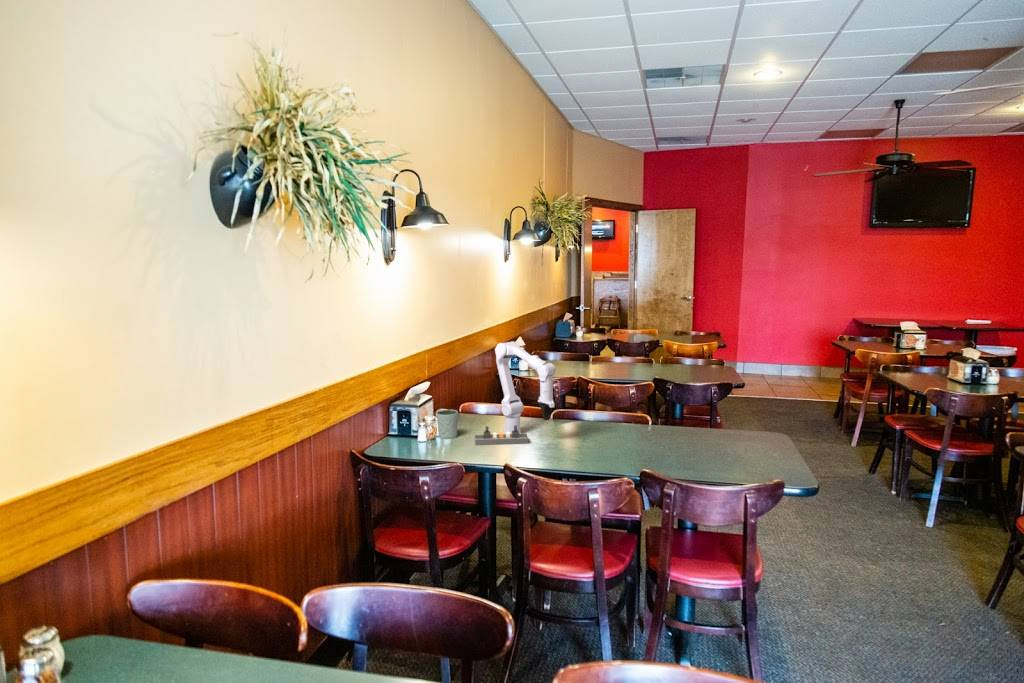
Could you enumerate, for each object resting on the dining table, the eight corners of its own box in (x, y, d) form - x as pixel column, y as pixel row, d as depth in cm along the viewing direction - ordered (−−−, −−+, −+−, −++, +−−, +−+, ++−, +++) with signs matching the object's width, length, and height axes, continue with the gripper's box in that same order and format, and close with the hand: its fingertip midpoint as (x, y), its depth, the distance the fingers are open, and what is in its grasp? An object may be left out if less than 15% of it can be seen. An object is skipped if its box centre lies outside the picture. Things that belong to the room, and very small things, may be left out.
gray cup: (460, 434, 295) (459, 409, 293) (456, 440, 285) (455, 414, 283) (439, 433, 296) (438, 409, 294) (434, 439, 286) (434, 414, 284)
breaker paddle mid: (499, 436, 282) (499, 432, 282) (502, 436, 282) (502, 432, 282) (499, 437, 280) (499, 433, 279) (503, 437, 280) (503, 433, 280)
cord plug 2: (511, 435, 283) (511, 425, 282) (518, 435, 283) (518, 424, 283) (512, 437, 280) (512, 426, 279) (519, 437, 280) (519, 426, 280)
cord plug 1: (483, 436, 282) (483, 425, 281) (490, 436, 282) (490, 425, 281) (483, 438, 279) (483, 427, 278) (490, 438, 279) (490, 427, 278)
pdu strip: (474, 440, 284) (474, 434, 283) (526, 439, 286) (526, 433, 286) (475, 445, 277) (475, 439, 276) (528, 443, 279) (528, 437, 279)
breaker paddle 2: (505, 436, 282) (505, 432, 282) (509, 435, 283) (509, 432, 282) (506, 437, 280) (506, 433, 280) (509, 437, 280) (509, 433, 280)
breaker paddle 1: (492, 436, 282) (492, 432, 282) (496, 436, 282) (496, 432, 282) (493, 437, 279) (493, 434, 279) (496, 437, 280) (496, 433, 279)
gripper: (532, 387, 284) (532, 416, 286) (544, 394, 271) (543, 424, 272) (546, 386, 286) (546, 415, 288) (558, 393, 273) (558, 422, 275)
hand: (546, 419), depth 280 cm, fingers closed
